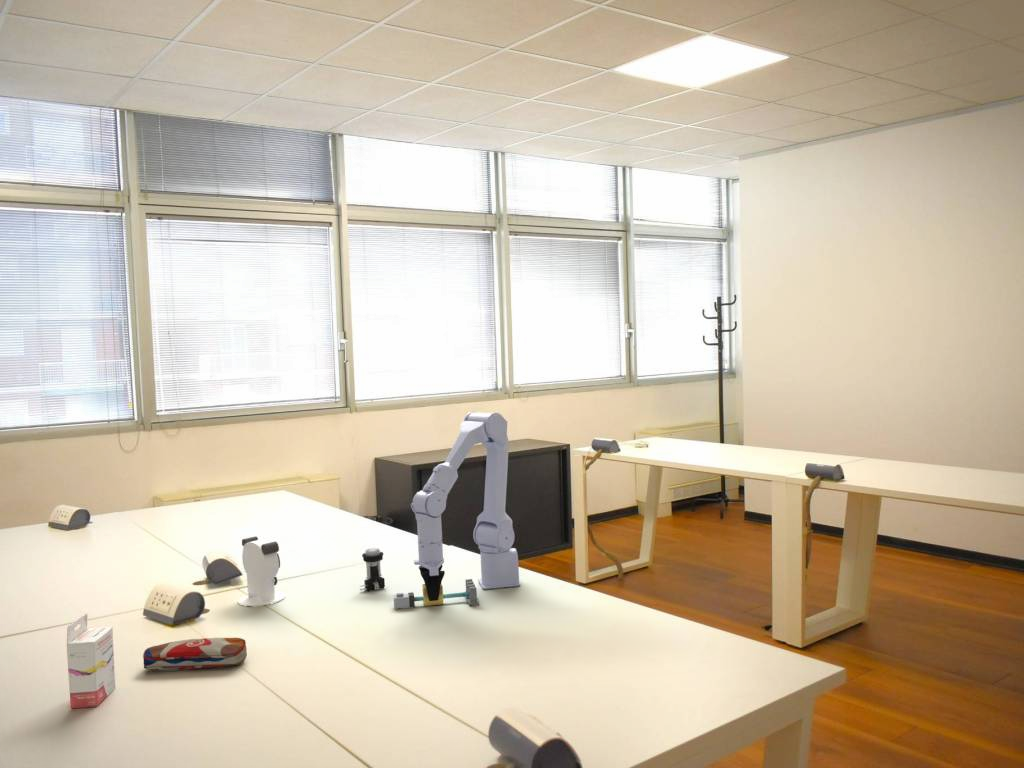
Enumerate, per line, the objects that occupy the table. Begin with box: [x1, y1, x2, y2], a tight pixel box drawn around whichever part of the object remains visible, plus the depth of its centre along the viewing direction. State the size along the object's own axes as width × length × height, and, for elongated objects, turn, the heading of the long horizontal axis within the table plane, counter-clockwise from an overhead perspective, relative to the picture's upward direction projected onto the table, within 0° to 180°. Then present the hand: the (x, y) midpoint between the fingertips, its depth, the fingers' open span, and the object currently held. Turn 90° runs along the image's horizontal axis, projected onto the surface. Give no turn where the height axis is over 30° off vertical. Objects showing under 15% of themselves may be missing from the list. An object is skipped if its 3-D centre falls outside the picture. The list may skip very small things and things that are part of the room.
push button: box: [359, 547, 386, 592], centre depth 214 cm, size 7×5×10 cm
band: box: [407, 591, 416, 608], centre depth 199 cm, size 1×3×3 cm, turn 10°
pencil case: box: [142, 637, 248, 672], centre depth 167 cm, size 11×20×5 cm, turn 78°
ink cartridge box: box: [66, 613, 116, 709], centre depth 152 cm, size 9×5×15 cm, turn 5°
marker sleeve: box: [422, 583, 444, 607], centre depth 200 cm, size 4×3×4 cm
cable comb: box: [464, 578, 480, 607], centre depth 202 cm, size 2×9×4 cm, turn 11°
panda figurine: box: [237, 535, 286, 607], centre depth 209 cm, size 12×11×15 cm
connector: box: [393, 592, 410, 610], centre depth 199 cm, size 4×3×3 cm
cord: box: [414, 591, 468, 602], centre depth 200 cm, size 16×1×1 cm, turn 101°
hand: (432, 597), depth 200 cm, fingers closed on marker sleeve, 3 cm apart
